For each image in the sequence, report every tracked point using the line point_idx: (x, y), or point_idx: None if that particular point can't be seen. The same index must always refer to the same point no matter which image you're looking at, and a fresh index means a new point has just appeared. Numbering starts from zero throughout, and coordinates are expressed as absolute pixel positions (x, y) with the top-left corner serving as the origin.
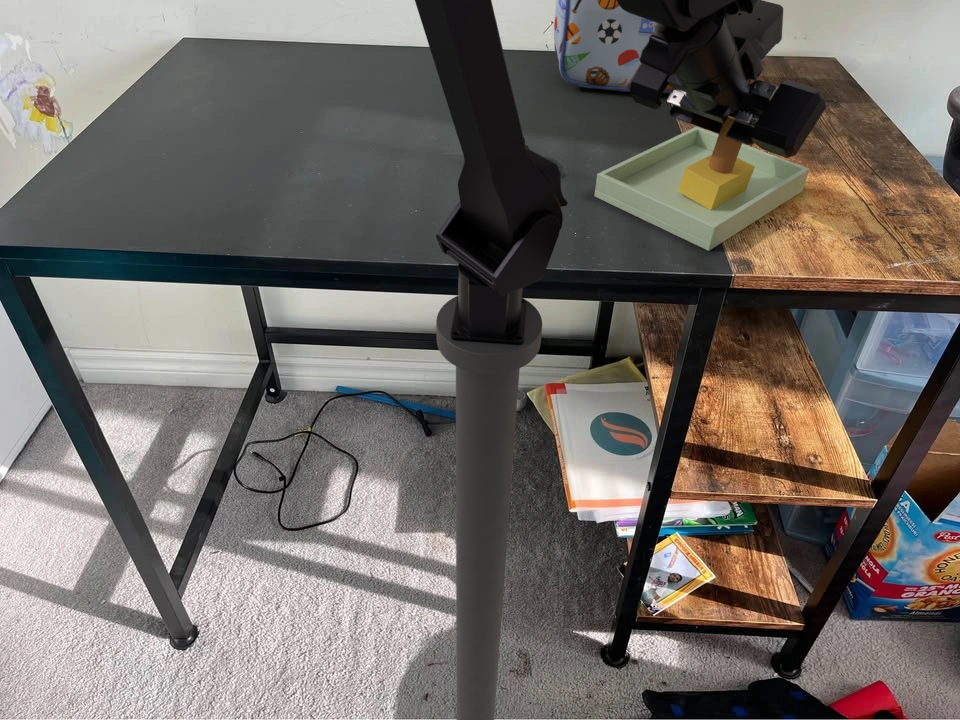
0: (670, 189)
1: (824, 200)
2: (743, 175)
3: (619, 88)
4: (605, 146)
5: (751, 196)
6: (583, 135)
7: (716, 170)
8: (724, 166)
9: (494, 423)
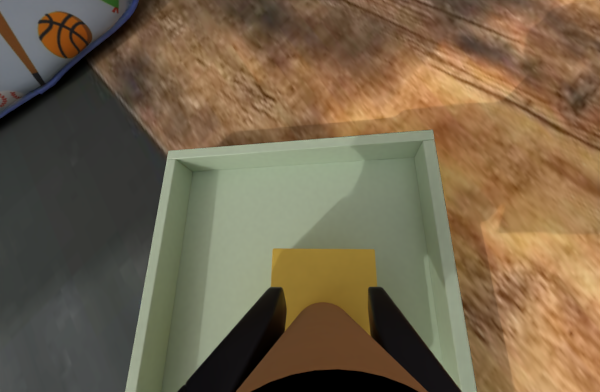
0: None
1: (468, 151)
2: None
3: (11, 107)
4: (71, 288)
5: (389, 273)
6: (24, 282)
7: (331, 373)
8: (348, 370)
9: None
